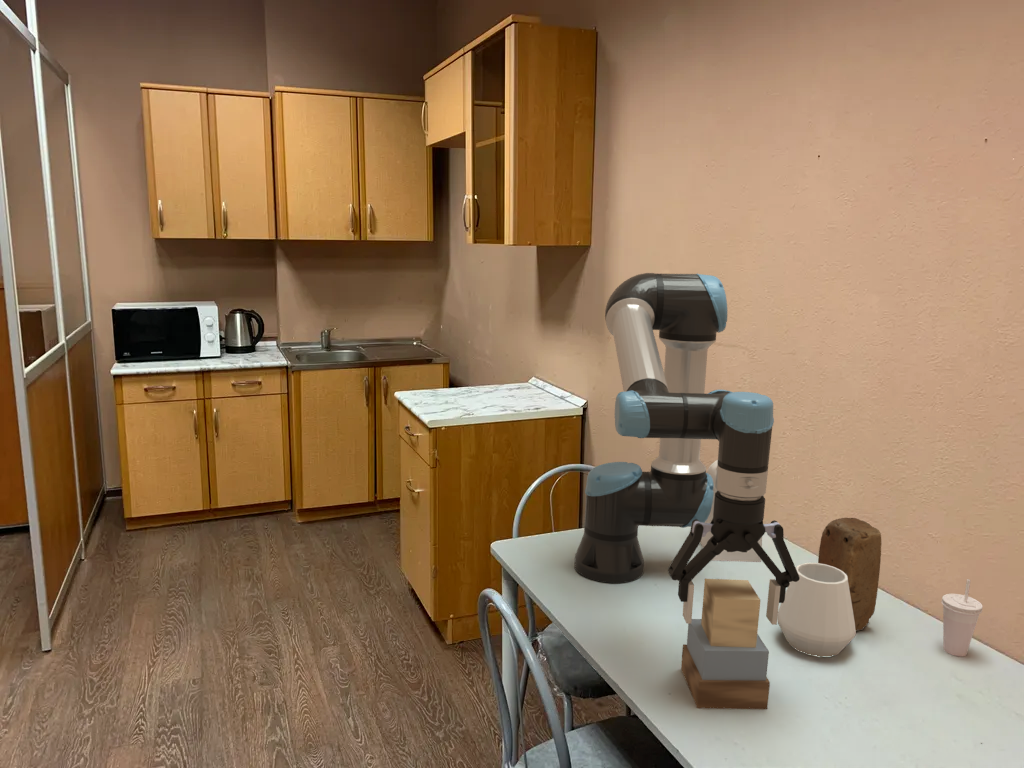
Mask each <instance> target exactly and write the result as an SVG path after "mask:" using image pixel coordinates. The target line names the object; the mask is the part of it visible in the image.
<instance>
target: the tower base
mask: <svg viewBox="0 0 1024 768" xmlns="http://www.w3.org/2000/svg"><path fill="white" fill-rule="evenodd" d="M680 665H681V668H680V670H681V672H682V676H683V677H684V680H685V682H686V684H687V687H688V689H689V692H690V694H691V696H692V699H693V700H694V704H695V706H696V708H697V709H720V710H721V709H723V710H724V709H725V710H726V709H727V710H728V709H730V710H731V709H732V710H735V709H737V710H768V706H769V693H770V686H771V685H770V684H771V681H770V680H769V679H768V677H766V681H757V680H702V678H701V676H700V674H699V671H698V669H697V667H696V665H695V663H694V661H693V659H692V657H691V655H690V652H689V650H688V648H687V644H682V652H681V664H680Z"/></svg>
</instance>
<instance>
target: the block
mask: <svg viewBox="0 0 1024 768" xmlns="http://www.w3.org/2000/svg"><path fill="white" fill-rule="evenodd" d="M881 534H882V533H881V531H880V530H879V529H878V528H876V527H874V526H872V525H871V524H870V523H868V522H867V521H864V520H861V519H859V518H856V517H840V518H836V519H834V520H831V521H830V522H828V523H827V525H826V526H825V528H824V529H823V531H822V533H821V536H820V537H821V538H820V543H819V547H818V548H819V549H818V562H817V563H820V564H826V565H829V566H833V567H835V568H837V569H839V570H841V571H843V572H844V573H845V574H846V575H847V577H848V584H849V590H850V596H851V602H852V609H853V615H854V621H855V629H856V632H857V631H861V630H864V628H865V627H867V626H868V625H869V624H870V619H871V618H872V616H873V615H874V614H875V610H876V603H877V598H878V592H879V591H878V589H879V579H880V574H881V573H880V572H881V557H882V535H881Z"/></svg>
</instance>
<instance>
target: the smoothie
mask: <svg viewBox="0 0 1024 768" xmlns="http://www.w3.org/2000/svg"><path fill="white" fill-rule="evenodd" d="M970 585H971V579H968V578H967V579H966V584H965V590H964V591H965V592H964V594H959V593H947V594H944V595H942V598H941V601H940V602H941V604H942V612H943V614H942V621H943V623H942V625H943V627H942V629H943V630H942V631H943V632H942V634H943V635H942V639H943V643H942V644H943V651H944V652H945V653H947V654H949V655H951V656H955V657H966V656H967V654H968V651H969V649H970V645H971V642H972V640H973V639H972V638H973V635H974V632H975V629H976V626H977V623H978V620H979V616H980V614H982V613H983V607H984V606H983V604H982V602H980V601H979V600H977V599H975V598H973V597H972V596H969V593H970V587H971V586H970Z"/></svg>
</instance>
